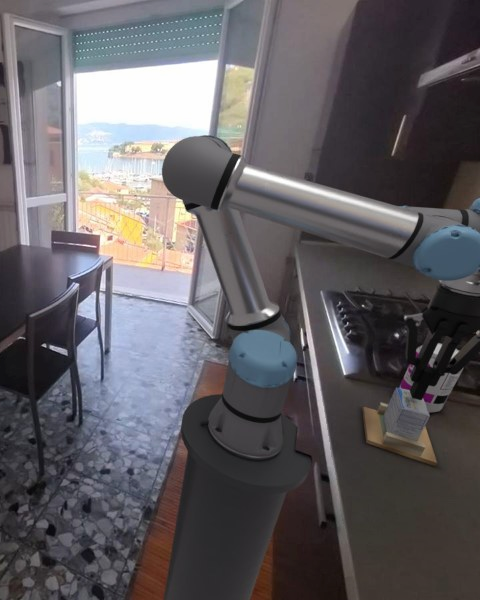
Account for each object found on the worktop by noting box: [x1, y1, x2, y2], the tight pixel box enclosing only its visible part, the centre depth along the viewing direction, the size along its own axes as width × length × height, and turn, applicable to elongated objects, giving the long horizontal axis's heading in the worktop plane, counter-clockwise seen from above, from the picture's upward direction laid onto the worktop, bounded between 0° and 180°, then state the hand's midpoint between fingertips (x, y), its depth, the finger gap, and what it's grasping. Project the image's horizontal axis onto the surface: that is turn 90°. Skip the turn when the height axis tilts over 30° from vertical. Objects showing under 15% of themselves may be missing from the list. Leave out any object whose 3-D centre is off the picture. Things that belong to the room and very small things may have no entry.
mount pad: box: [361, 402, 438, 467], centre depth 76 cm, size 11×12×4 cm
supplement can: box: [398, 342, 465, 414], centre depth 83 cm, size 8×8×15 cm
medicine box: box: [383, 387, 431, 441], centre depth 75 cm, size 8×4×9 cm, turn 148°
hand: (415, 395), depth 72 cm, fingers closed
